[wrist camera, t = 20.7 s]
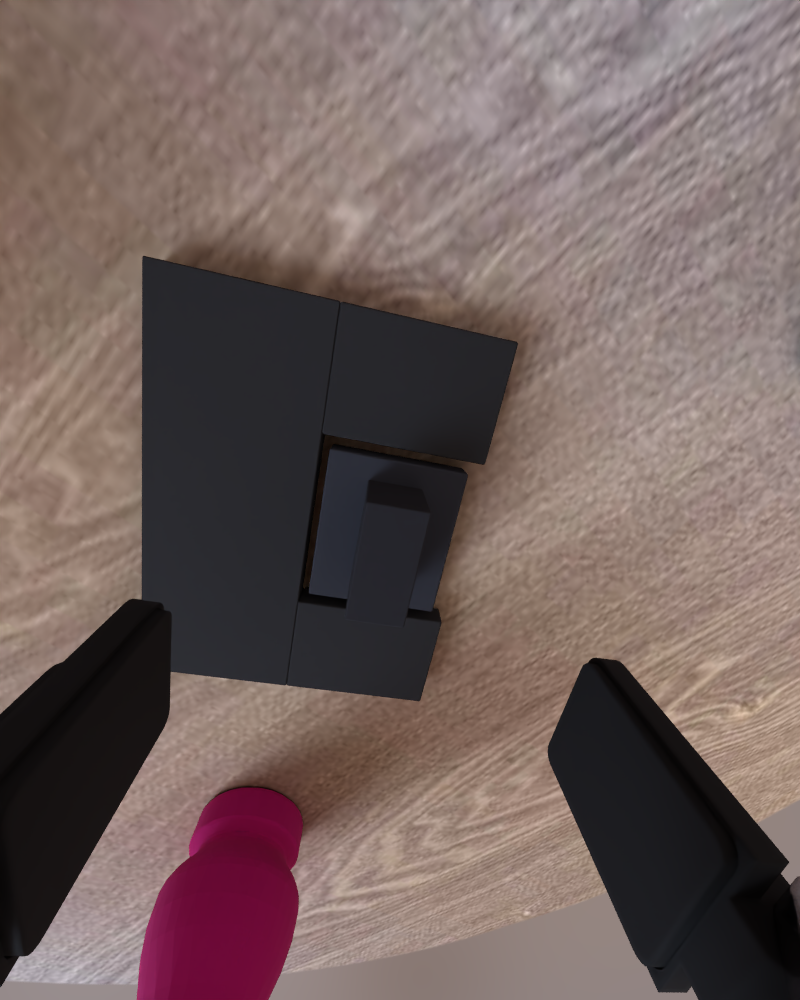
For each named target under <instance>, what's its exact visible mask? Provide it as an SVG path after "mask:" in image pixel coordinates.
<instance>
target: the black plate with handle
mask: <svg viewBox="0 0 800 1000" xmlns="http://www.w3.org/2000/svg"><path fill="white" fill-rule="evenodd" d="M467 477H468V474H467V473H466V472H465V471H464V470H463V469H462V468H458V467H453V466H448V465H443V464H437V463H432V462H427V461H422V460H416V459H411V458H406V457H401V456H395V455H390V454H385V453H379V452H374V451H369V450H364V449H358V448H353V447H348V446H343V445H337V444H333V445H332V447H331V449H330V451H329V458H328V464H327V471H326V478H325V484H324V491H323V498H322V505H321V511H320V518H319V525H318V531H317V538H316V545H315V552H314V558H313V565H312V572H311V578H310V585H309V593H310V594H316V595H323V596H329V597H336V598H343V599H347V604H346V611H345V620H350V621H358V622H365V623H372V624H379V625H386V626H393V627H400V628H403V627H404V625H405V621H406V617H407V613H408V609H409V608H411V609H418V610H425V611H432V610H433V607H434V603H435V599H436V595H437V591H438V588H439V584H440V580H441V576H442V572H443V569H444V565H445V561H446V557H447V553H448V550H449V546H450V542H451V538H452V534H453V531H454V527H455V523H456V519H457V515H458V512H459V508H460V504H461V500H462V496H463V493H464V489H465V485H466V481H467Z"/></svg>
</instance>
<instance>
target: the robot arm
mask: <svg viewBox="0 0 800 1000" xmlns="http://www.w3.org/2000/svg"><path fill="white" fill-rule="evenodd" d="M171 628H172V615H171V612H170V611H166V610H164V606H163V604H162V603H161V602H154V601H146V600H138V599H130V600H128V601H127V602H126V603H124V604H123V605H122V606H121V607H120V608H119V609H118V610H117V611H116V612H115V613H114V614H113V615H112V616H111V617H110V618H109V619H108V620H107V621H106V622H105V623H104V624H103V625H101V626H100V627H99V628H98V629H97V630H96V631H95V632H94V633H93V634H92V635H91V636H90V637H89V638H88V639H87V640H86V641H85V642H84V643H83V644H82V645H81V646H80V647H78V648H77V649H76V650H75V651H74V652H73V653H72V654H71V655H70V656H69V657H68V658H67V659H66V660H65V661H64V662H62V663H59V664H57V665H54V666H53V667H52V668H50V669H49V670H48V671H46V672H45V673H44V674H43V675H42V676H41V677H40V678H39V679H38V680H37V681H35V682H34V683H33V684H32V685H31V686H30V687H29V688H28V689H27V690H26V691H25V692H24V693H23V694H22V695H20V696H19V697H18V698H17V699H16V700H15V701H14V702H13V703H12V704H11V705H10V706H9V707H8V708H7V709H6V710H4V711H3V712H2V713H1V714H0V987H1V986H2V984H3V983H4V981H5V979H6V978H7V976H8V974H9V973H10V971H11V969H12V968H13V966H14V964H15V963H16V961H17V959H18V958H19V956H28V955H29V954H31V953H32V952H33V951H34V949H35V948H36V947H37V945H38V944H39V943H40V941H41V939H42V938H43V936H44V935H45V933H46V931H47V929H48V928H49V926H50V924H51V923H52V921H53V919H54V917H55V916H56V914H57V912H58V910H59V909H60V907H61V905H62V903H63V902H64V900H65V898H66V897H67V895H68V893H69V891H70V890H71V888H72V886H73V884H74V883H75V881H76V879H77V878H78V876H79V874H80V872H81V871H82V869H83V867H84V865H85V864H86V862H87V860H88V858H89V857H90V855H91V853H92V852H93V850H94V848H95V846H96V845H97V843H98V841H99V839H100V838H101V836H102V834H103V832H104V831H105V829H106V827H107V826H108V824H109V822H110V820H111V819H112V817H113V815H114V813H115V812H116V810H117V808H118V807H119V805H120V803H121V801H122V800H123V798H124V796H125V794H126V793H127V791H128V789H129V787H130V786H131V784H132V782H133V781H134V779H135V777H136V775H137V774H138V772H139V770H140V768H141V767H142V765H143V763H144V761H145V760H146V758H147V756H148V755H149V753H150V751H151V749H152V748H153V746H154V744H155V742H156V741H157V739H158V737H159V736H160V734H161V732H162V730H163V728H164V726H165V724H166V722H167V719H168V715H169V710H170V673H171ZM548 758H549V762H550V764H551V767H552V769H553V771H554V773H555V776H556V778H557V780H558V782H559V785H560V787H561V789H562V791H563V794H564V796H565V798H566V800H567V803H568V805H569V807H570V809H571V812H572V814H573V816H574V818H575V820H576V823H577V825H578V827H579V829H580V832H581V834H582V836H583V838H584V841H585V843H586V845H587V847H588V850H589V852H590V854H591V856H592V859H593V861H594V863H595V865H596V868H597V870H598V872H599V874H600V876H601V879H602V881H603V883H604V885H605V888H606V890H607V892H608V894H609V897H610V899H611V901H612V903H613V905H614V908H615V910H616V912H617V914H618V917H619V919H620V921H621V923H622V925H623V928H624V930H625V932H626V935H627V937H628V939H629V941H630V944H631V946H632V948H633V950H634V952H635V954H636V956H637V957H638V959H639V960H640V962H641V963H642V964H644V965H645V966H647V968H648V970H649V973H650V975H651V977H652V979H653V981H654V984H655V986H656V988H657V990H658V992H687V991H688V990H689V989H690V988H691V986H692V988H693V990H694V992H695V994H696V996H697V997H698V1000H800V877H797V878H796V879H795V880H794V881H793V883H792V884H791V885H789V884H788V882H787V881H786V880H785V878H784V877H783V876H782V875H781V872H782V871H783V870H784V868H785V867H786V866H787V864H788V863H789V861H788V860H787V859H786V858H785V857H784V855H783V854H782V853H781V852H780V851H779V849H778V848H777V847H776V846H775V845H774V843H773V842H772V841H771V840H770V839H769V838H768V836H767V835H766V834H765V833H764V831H763V830H762V829H761V828H760V827H759V826H758V824H757V823H756V822H755V821H754V820H753V818H752V817H751V816H750V815H749V814H748V812H747V811H746V810H745V809H744V808H743V806H742V805H741V804H740V803H739V802H738V800H737V799H736V798H735V797H734V796H733V795H732V793H731V792H730V791H729V790H728V789H727V787H726V786H725V785H724V784H723V783H722V781H721V780H720V779H719V778H718V777H717V775H716V774H715V773H714V772H713V771H712V770H711V768H710V767H709V766H708V765H707V764H706V762H705V761H704V760H703V759H702V758H701V756H700V755H699V754H698V753H697V752H696V750H695V749H694V748H693V747H692V746H691V745H690V743H689V742H688V741H687V740H686V739H685V737H684V736H683V735H682V734H681V733H680V731H679V730H678V729H677V728H676V727H675V725H674V724H673V723H672V722H671V721H670V720H669V718H668V717H667V716H666V715H665V714H664V712H663V711H662V710H661V709H660V708H659V706H658V705H657V704H656V703H655V702H654V700H653V699H652V698H651V697H650V696H649V695H648V693H647V692H646V691H645V690H644V689H643V687H642V686H641V685H640V684H639V683H638V681H637V680H636V679H635V678H634V677H633V675H632V674H631V673H630V672H629V671H628V670H627V668H626V667H625V666H624V665H623V664H622V663H621V662H619V661H617V660H609V659H602V658H592V659H591V660H590V661H589V662H588V663H586V664H584V665H583V667H582V669H581V671H580V673H579V675H578V678H577V680H576V682H575V685H574V687H573V689H572V692H571V694H570V696H569V699H568V701H567V703H566V706H565V708H564V710H563V713H562V715H561V717H560V720H559V722H558V724H557V727H556V729H555V731H554V734H553V736H552V738H551V741H550V743H549V746H548Z"/></svg>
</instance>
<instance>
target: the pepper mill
mask: <svg viewBox="0 0 800 1000" xmlns="http://www.w3.org/2000/svg"><path fill="white" fill-rule="evenodd" d="M302 829H303V821H302V816H301V814H300V811H299V810H298V808H297V807H296V806H295V804H294V803H293V802H292V801H291V800H289V799H288V798H286V797H285V796H283V795H282V794H280V793H277V792H275V791H272V790H268V789H264V788H252V787H243V788H237V789H233V790H229V791H227V792H224V793H222V794H220V795H218V796H216V797H215V798H214V799H213V800H212V801H210V802H209V803H208V804H207V805H206V807H205V808H204V810H203V811H202V814H201V816H200V818H199V821H198V823H197V826H196V829H195V831H194V834H193V836H192V839H191V841H190V844H189V855H190V858H189V859H187V860H186V861H185V862H184V863H182V864H181V865H180V866H179V867H178V868H177V869H176V870H175V871H174V872H173V873H172V875H171V876H170V877H169V878H168V879H167V880H166V882H165V884H164V885H163V887H162V889H161V890H160V892H159V895H158V897H157V900H156V903H155V906H154V909H153V911H152V914H151V917H150V920H149V923H148V926H147V929H146V934H145V939H144V944H143V949H142V954H141V959H140V967H139V979H138V991H137V1000H268V999H269V997H270V995H271V993H272V991H273V989H274V987H275V985H276V982H277V980H278V978H279V976H280V974H281V971H282V968H283V965H284V963H285V960H286V957H287V954H288V951H289V948H290V946H291V942H292V939H293V934H294V929H295V924H296V919H297V915H298V905H299V895H298V890H297V886H296V882H295V880H294V877H293V875H292V873H291V871H290V870H291V869H292V867H293V866H294V865H295V863H296V861H297V858H298V853H299V847H300V841H301V835H302Z"/></svg>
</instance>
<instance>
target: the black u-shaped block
mask: <svg viewBox="0 0 800 1000" xmlns="http://www.w3.org/2000/svg"><path fill="white" fill-rule="evenodd" d="M517 345H518V343H517V342H515V341H511V340H506V339H502V338H498V337H493V336H489V335H485V334H480V333H476V332H472V331H467V330H463V329H459V328H454V327H450V326H445V325H441V324H437V323H432V322H428V321H424V320H419V319H415V318H411V317H406V316H402V315H398V314H393V313H389V312H385V311H380V310H376V309H372V308H367V307H363V306H359V305H354V304H350V303H346V302H341V303H340V301H337V300H333V299H329V298H324V297H320V296H316V295H311V294H307V293H303V292H298V291H294V290H290V289H285V288H281V287H277V286H272V285H268V284H264V283H259V282H255V281H251V280H246V279H242V278H238V277H233V276H229V275H225V274H220V273H216V272H212V271H207V270H203V269H199V268H194V267H190V266H186V265H181V264H177V263H173V262H168V261H164V260H160V259H155V258H151V257H147V256H143V260H142V600H146V601H154V602H161V603H162V604H163V606H164V610H166V611H170V612H171V615H172V628H171V672H178V673H187V674H195V675H203V676H212V677H220V678H228V679H237V680H245V681H254V682H262V683H270V684H279V685H286V684H287V685H288V686H297V687H305V688H314V689H322V690H330V691H339V692H347V693H355V694H364V695H372V696H380V697H389V698H397V699H406V700H414V701H420V699H421V696H422V692H423V688H424V685H425V681H426V677H427V674H428V670H429V666H430V663H431V659H432V656H433V652H434V648H435V645H436V641H437V637H438V634H439V630H440V626H441V618H440V614H439V610H438V609H436V608H433V610H432V611H425V610H418V609H411V608H409V609H408V613H407V617H406V621H405V625H404V627H403V628H400V627H393V626H386V625H379V624H372V623H365V622H358V621H350V620H345V611H346V604H347V599H343V598H336V597H329V596H323V595H316V594H310V593H309V590H307V589H303V582H304V575H305V568H306V561H307V554H308V547H309V540H310V533H311V527H312V520H313V513H314V506H315V499H316V492H317V485H318V478H319V471H320V464H321V457H322V450H323V443H324V436H325V434H327V435H332V436H337V437H342V438H347V439H353V440H358V441H363V442H368V443H374V444H379V445H384V446H389V447H394V448H400V449H405V450H410V451H415V452H420V453H426V454H431V455H436V456H441V457H446V458H452V459H457V460H462V461H467V462H473V463H478V464H485V462H486V459H487V455H488V451H489V448H490V444H491V440H492V437H493V433H494V429H495V426H496V422H497V418H498V415H499V411H500V407H501V404H502V400H503V397H504V393H505V389H506V386H507V382H508V378H509V375H510V371H511V367H512V364H513V360H514V356H515V353H516V349H517ZM302 589H303V590H302Z"/></svg>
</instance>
